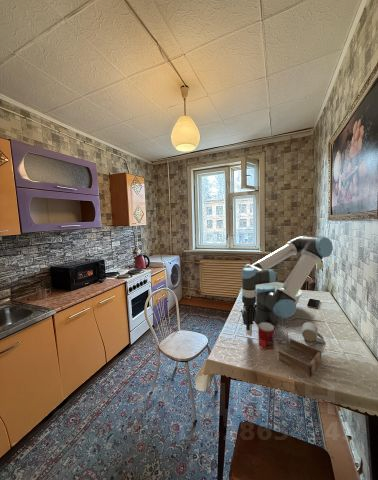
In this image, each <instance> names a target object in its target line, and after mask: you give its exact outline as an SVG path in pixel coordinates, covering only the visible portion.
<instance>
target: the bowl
mask: <svg viewBox="0 0 378 480" xmlns="http://www.w3.org/2000/svg"><path fill="white" fill-rule="evenodd" d="M284 283H285V282H279V281H274V282H272V283H265V284H258V285H256V289H257V287H259V286H272V287H275V292H276V290H277V289H279V288H281V287H282V286H283V284H284ZM302 295H303V291H302V289H301V288H300V290H299V291H298V293H297V294H296V296H295V298H296V302H295V304H296V306H297V305H298V303H299V302H300V297H301V296H302Z"/></svg>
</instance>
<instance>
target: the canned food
mask: <svg viewBox="0 0 378 480" xmlns="http://www.w3.org/2000/svg"><path fill="white" fill-rule="evenodd" d="M257 326H258V332H257V333H258V345H259V346H260V348H262V349H265V350H272V349H274V347H275V328H274V327H275V325H274V326H273V325H271V324H269V323H265V322H262V323H259V324H258V325H257Z"/></svg>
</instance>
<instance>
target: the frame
mask: <svg viewBox="0 0 378 480" xmlns="http://www.w3.org/2000/svg"><path fill="white" fill-rule="evenodd" d="M289 349H290V350H293V351H295V352H297V353H299V354H301V355H303V356H306V357H308V358H310V359H312V360H311V361H310V362H309V363H308V362H306V361H304V360H302V359H299V358H297V357H295V356H293V355H291V354H288V353H286V352H284V351H282V350H279V351H278V362H279V363H282V364H284V365H287V367H289V368H291V369H294V370H296V371H298V372H300V373H301V374H304V375H305V376H307V377H309V378H312V376H313V374H314V373H315V372H316V370H317V368H318V367H319V365H320V363H321V362H322V350H320V349H317V348H315V347H312V346H310V345H308V344H305V343H302V342H300V341H297V340H295V339H292V338H290V339H289Z"/></svg>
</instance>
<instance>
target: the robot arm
mask: <svg viewBox="0 0 378 480" xmlns="http://www.w3.org/2000/svg"><path fill="white" fill-rule="evenodd" d="M333 248H334V247H333V243H332V241H331V239H330V238H328V237H326V236H322V235H321V236H320V235H317V236H316V235H308V234H304V235H300V236H296V237H295V238H292V239H290V240H288V241H287V242H286V243H285V245H283V246H282V247H280V248H278V249H277V250H275V251H273V252H271V253H268V254H267V255H266V256H264V257H262V258H261V259H259V260H258V261H255V262H254V263H252V264H251V263H247V264H245V265H244V266H243V268H242V270H241V302H242V303H243V308H242V309H240V313H241V316H242V322H243V324H244V325H245V327H246V329H245V330H246V331H245V332H246V333H245V334H246V335H247V336H249V337H251V336H252V335H253V325H255V323H256V324H257V325H259V323H262V322H265V323H269V324H271V325H273V326H274V327H275V326H276V325H278V323H279V318H281V319H287V318H290V317H292V316H293V315H294V314H295V313H296V310H297V305H296V304H295V302H296V298H295V296H296V294H297V293H298V291H299V290H300V289H301V288H302V287H303V285H304V284H305V282H306V280H307V278H308V276H309V275H310V274H311V272H312V270H313V269H314V267H315V266H316V264H317V263H321V261H322V259H324V258H329V256H331V255H332V253H333V250H334V249H333ZM298 254H300V255H301V256H300V257H299V259H298V260H297V263H296V264H295V265H294V267H293V268H292V270H291V272H290V273H289V274H288V276H287V279H286V280H285V281H284V282H283V283H284V284H283V286H282V287H281V288H279V289H277V290H276V292H275V287H272V286H259V287H257V289H256V285H258V284H265V283H272V282H276V279H277V274H276V272H275V271H274V270H273V269H271V268H272V267H274V266H276V265H277V264H279V263H281V262H283V261H284V260H286V259H287V258H289V257H292V256H297V255H298ZM278 317H279V318H278ZM254 322H255V323H254Z"/></svg>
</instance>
